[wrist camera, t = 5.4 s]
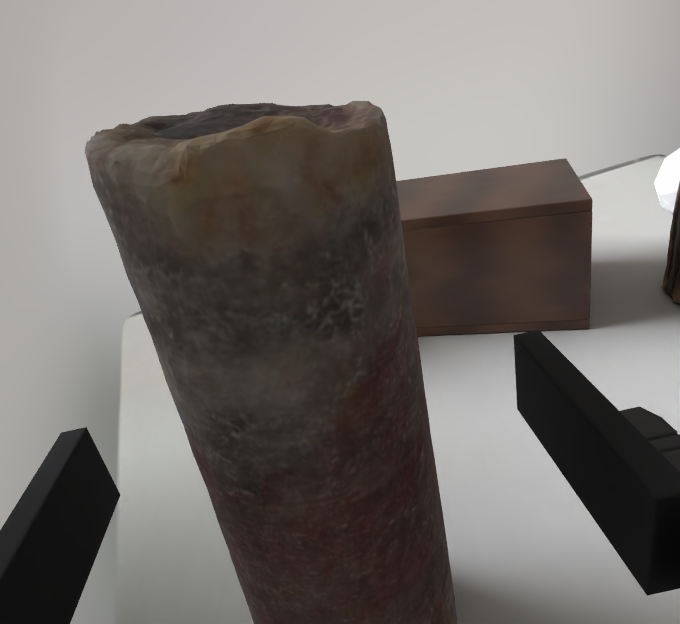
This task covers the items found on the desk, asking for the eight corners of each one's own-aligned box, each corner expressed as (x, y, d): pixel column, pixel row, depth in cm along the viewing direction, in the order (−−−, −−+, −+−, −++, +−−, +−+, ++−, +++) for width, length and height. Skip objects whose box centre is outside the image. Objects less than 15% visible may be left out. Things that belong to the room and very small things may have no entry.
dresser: (378, 338, 42) (358, 225, 38) (400, 275, 53) (386, 182, 49) (589, 329, 37) (592, 198, 33) (566, 262, 48) (566, 158, 44)
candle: (356, 528, 25) (250, 93, 17) (497, 607, 21) (449, 56, 12) (236, 663, 21) (3, 149, 12) (384, 806, 16) (172, 125, 7)
